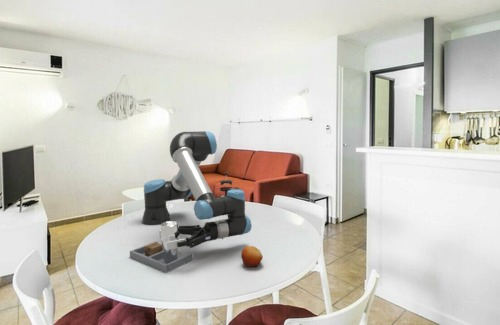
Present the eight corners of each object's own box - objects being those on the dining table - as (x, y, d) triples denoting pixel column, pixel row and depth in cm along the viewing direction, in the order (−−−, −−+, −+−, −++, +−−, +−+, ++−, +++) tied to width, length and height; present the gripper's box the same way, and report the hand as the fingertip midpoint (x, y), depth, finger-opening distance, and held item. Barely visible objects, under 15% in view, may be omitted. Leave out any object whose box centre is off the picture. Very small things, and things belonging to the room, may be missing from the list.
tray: (130, 258, 116) (129, 251, 116) (159, 247, 128) (159, 240, 127) (166, 274, 103) (165, 265, 103) (195, 259, 114) (195, 252, 114)
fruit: (235, 257, 112) (246, 239, 112) (253, 266, 113) (263, 249, 113) (236, 267, 104) (247, 248, 104) (255, 276, 105) (266, 258, 105)
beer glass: (164, 267, 107) (162, 227, 106) (160, 260, 113) (158, 222, 112) (182, 262, 110) (181, 224, 109) (178, 256, 116) (176, 219, 115)
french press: (234, 206, 195) (233, 173, 193) (220, 207, 194) (219, 173, 192) (233, 202, 207) (232, 170, 204) (219, 203, 206) (219, 171, 203)
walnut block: (145, 255, 118) (144, 245, 118) (155, 251, 122) (154, 242, 122) (152, 258, 115) (151, 248, 115) (162, 253, 119) (162, 244, 119)
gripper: (228, 249, 109) (171, 262, 99) (205, 230, 131) (157, 239, 121) (227, 229, 109) (170, 240, 98) (205, 214, 130) (156, 221, 120)
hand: (163, 240), depth 110 cm, fingers open, 13 cm apart
